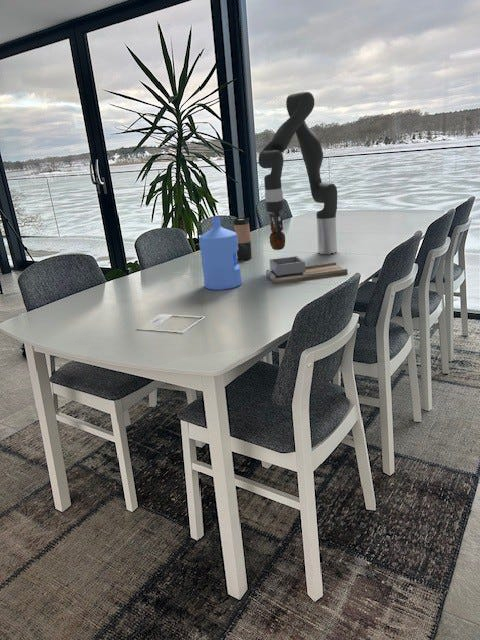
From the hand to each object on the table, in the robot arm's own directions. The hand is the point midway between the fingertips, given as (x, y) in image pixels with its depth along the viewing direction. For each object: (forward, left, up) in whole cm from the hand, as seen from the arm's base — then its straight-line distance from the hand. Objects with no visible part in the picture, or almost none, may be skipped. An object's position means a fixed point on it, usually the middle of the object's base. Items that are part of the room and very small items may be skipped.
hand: (277, 238), depth 218 cm
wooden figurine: (0, 0, -5) cm, 5 cm away
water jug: (+13, -27, -14) cm, 33 cm away
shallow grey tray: (+15, 0, -13) cm, 20 cm away
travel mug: (-32, -10, -14) cm, 36 cm away
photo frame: (+53, -50, -15) cm, 75 cm away
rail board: (+15, +8, -14) cm, 22 cm away
